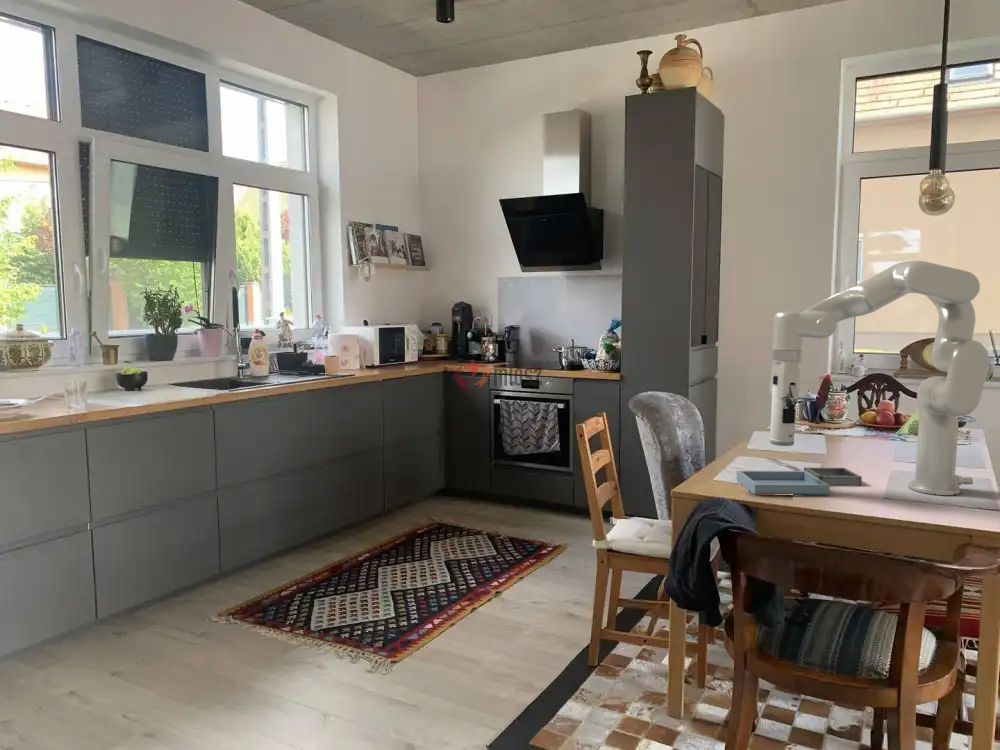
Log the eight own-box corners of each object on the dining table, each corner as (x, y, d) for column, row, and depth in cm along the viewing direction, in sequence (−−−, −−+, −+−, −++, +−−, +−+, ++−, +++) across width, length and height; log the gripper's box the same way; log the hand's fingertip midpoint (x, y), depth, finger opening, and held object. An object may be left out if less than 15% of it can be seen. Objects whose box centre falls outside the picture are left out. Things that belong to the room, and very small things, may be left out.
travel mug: (797, 446, 203) (800, 374, 201) (771, 445, 205) (775, 373, 203) (792, 442, 210) (796, 371, 207) (768, 441, 211) (771, 371, 209)
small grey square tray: (843, 475, 223) (844, 467, 222) (861, 485, 212) (861, 476, 211) (803, 475, 223) (804, 467, 222) (818, 485, 212) (819, 476, 212)
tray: (805, 481, 216) (806, 471, 216) (829, 496, 200) (829, 485, 200) (736, 480, 217) (736, 470, 216) (754, 495, 201) (754, 484, 200)
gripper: (762, 353, 213) (759, 415, 215) (784, 359, 196) (781, 426, 198) (788, 354, 213) (785, 416, 215) (813, 359, 196) (809, 426, 198)
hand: (783, 420), depth 206 cm, fingers closed on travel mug, 6 cm apart
